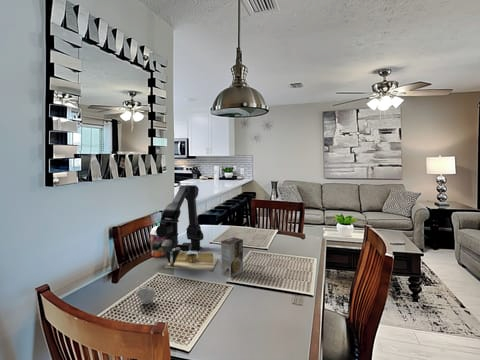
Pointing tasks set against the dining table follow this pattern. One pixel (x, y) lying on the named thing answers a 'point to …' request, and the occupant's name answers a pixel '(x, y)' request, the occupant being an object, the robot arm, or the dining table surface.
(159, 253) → the smoothie
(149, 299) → the grey head sculpture
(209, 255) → the loose leaf
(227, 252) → the coffee box
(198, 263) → the mount board
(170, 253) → the pin
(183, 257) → the hinge base
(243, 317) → the dining table surface
